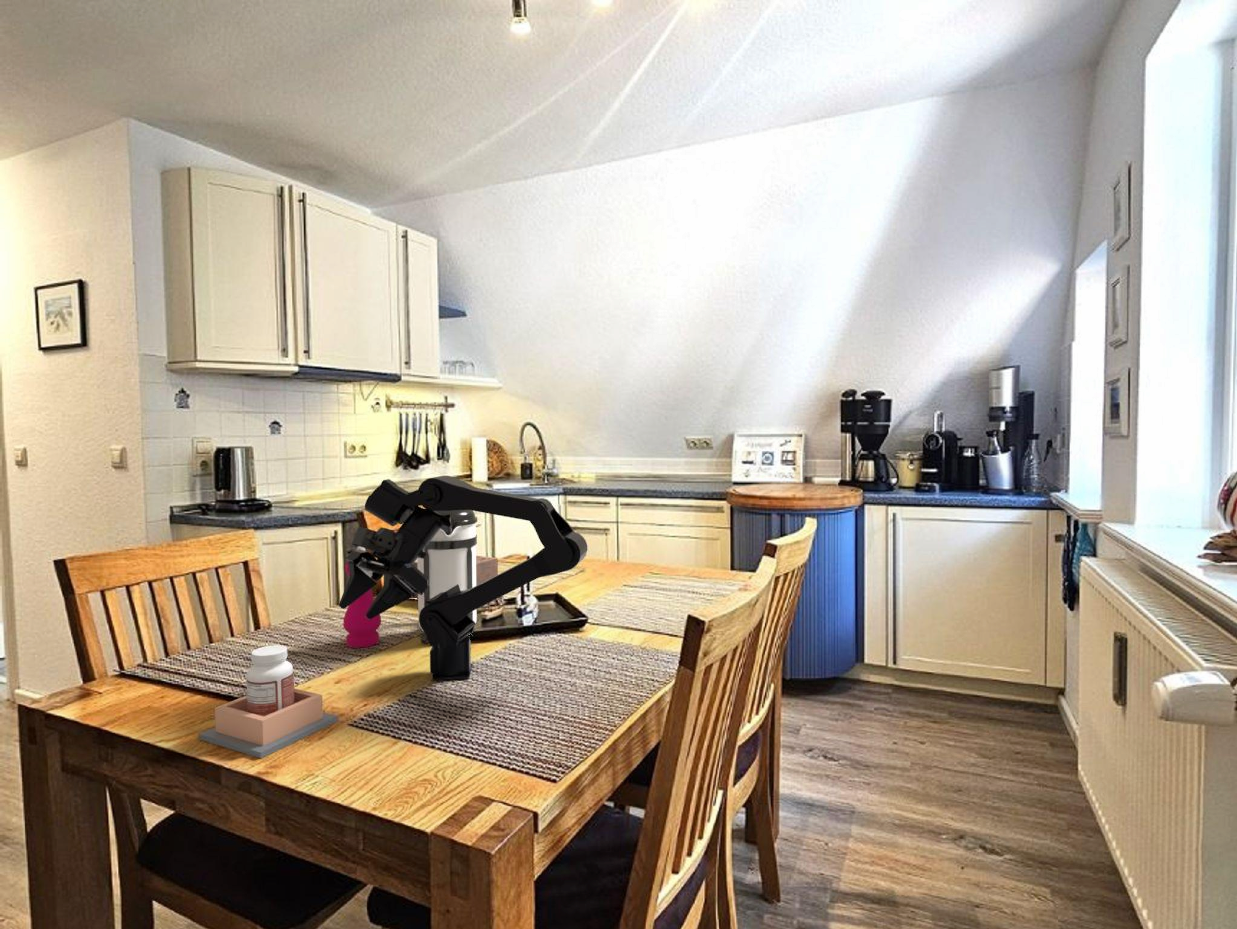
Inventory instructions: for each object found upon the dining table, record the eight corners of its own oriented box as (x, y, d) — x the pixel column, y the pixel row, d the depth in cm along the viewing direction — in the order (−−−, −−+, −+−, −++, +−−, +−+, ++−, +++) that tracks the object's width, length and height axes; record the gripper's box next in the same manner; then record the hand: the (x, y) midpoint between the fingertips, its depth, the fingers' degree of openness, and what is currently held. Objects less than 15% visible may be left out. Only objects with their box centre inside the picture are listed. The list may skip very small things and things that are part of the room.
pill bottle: (283, 711, 107) (281, 640, 106) (302, 722, 103) (300, 649, 102) (240, 725, 102) (238, 650, 101) (259, 737, 98) (256, 660, 97)
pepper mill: (369, 649, 138) (367, 549, 137) (336, 647, 139) (334, 548, 138) (388, 638, 145) (386, 543, 144) (356, 636, 146) (354, 542, 145)
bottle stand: (338, 721, 105) (337, 693, 105) (261, 758, 93) (260, 727, 93) (278, 705, 111) (277, 679, 110) (198, 739, 99) (197, 709, 99)
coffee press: (501, 630, 151) (500, 492, 150) (446, 650, 138) (444, 499, 136) (444, 617, 161) (443, 488, 159) (388, 635, 147) (385, 494, 145)
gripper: (355, 504, 125) (294, 575, 117) (411, 514, 112) (346, 594, 105) (396, 542, 131) (340, 612, 123) (453, 555, 118) (395, 634, 111)
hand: (353, 612), depth 115 cm, fingers open, 9 cm apart
